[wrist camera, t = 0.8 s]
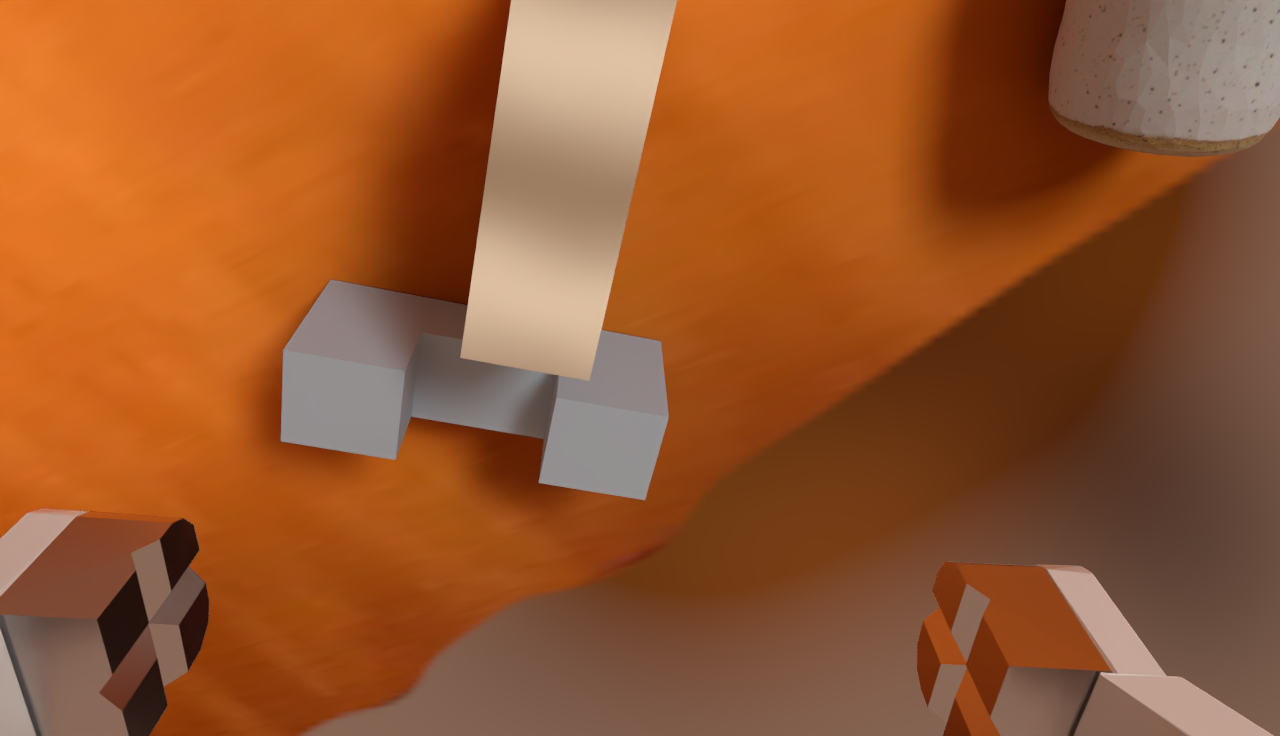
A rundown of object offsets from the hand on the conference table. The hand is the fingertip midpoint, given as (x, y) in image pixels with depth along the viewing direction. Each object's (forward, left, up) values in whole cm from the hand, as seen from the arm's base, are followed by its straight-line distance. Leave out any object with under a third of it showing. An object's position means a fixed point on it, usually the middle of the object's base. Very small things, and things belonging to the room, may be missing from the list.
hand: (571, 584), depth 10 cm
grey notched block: (+7, -10, -26) cm, 29 cm away
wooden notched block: (0, -1, -26) cm, 26 cm away
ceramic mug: (+8, +19, -26) cm, 33 cm away
